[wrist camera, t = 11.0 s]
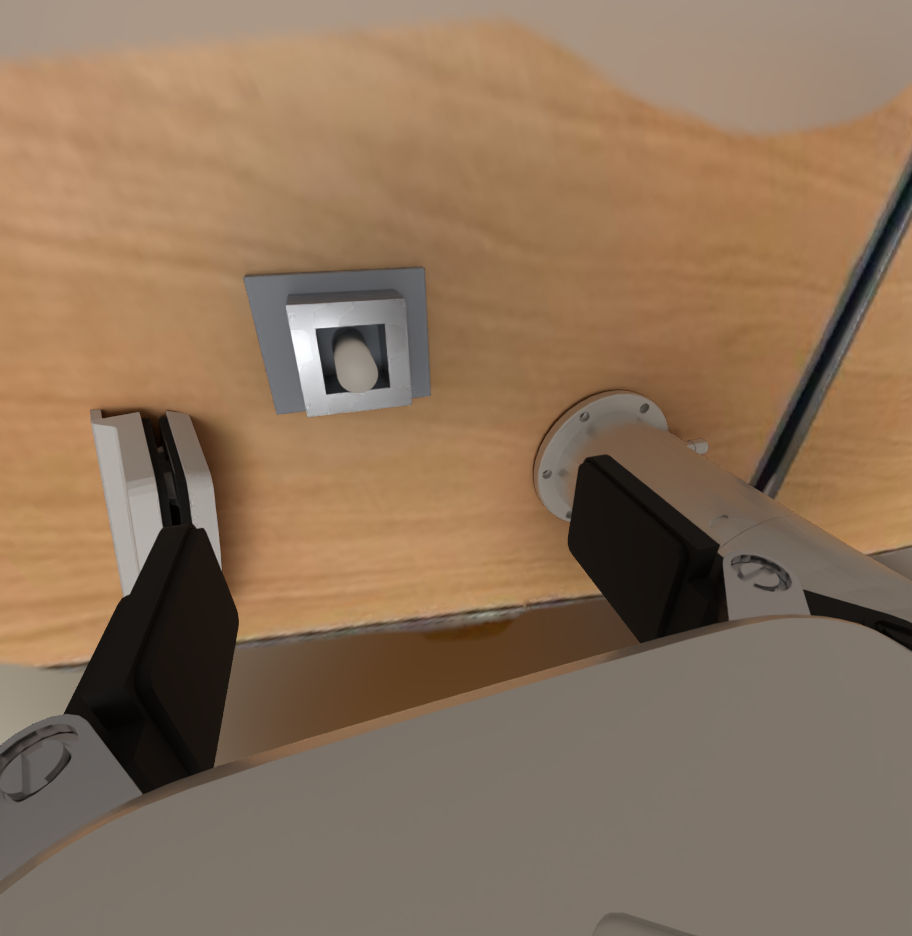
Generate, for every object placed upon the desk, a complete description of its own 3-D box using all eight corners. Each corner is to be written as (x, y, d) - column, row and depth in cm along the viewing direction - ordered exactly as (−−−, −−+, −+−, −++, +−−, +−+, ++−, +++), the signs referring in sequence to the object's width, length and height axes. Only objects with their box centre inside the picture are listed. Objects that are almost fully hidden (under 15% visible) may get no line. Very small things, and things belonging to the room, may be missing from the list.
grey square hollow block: (394, 288, 26) (405, 298, 23) (401, 385, 29) (411, 404, 26) (288, 294, 24) (285, 305, 22) (307, 395, 27) (307, 417, 25)
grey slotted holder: (88, 403, 25) (95, 491, 19) (184, 400, 28) (219, 476, 21) (127, 613, 33) (141, 729, 26) (199, 594, 35) (229, 694, 29)
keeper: (420, 266, 27) (452, 281, 21) (427, 390, 31) (455, 432, 25) (245, 275, 24) (226, 295, 18) (277, 408, 28) (270, 459, 23)
